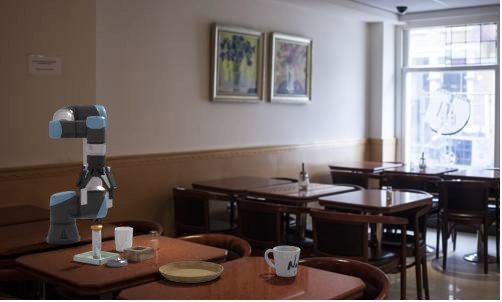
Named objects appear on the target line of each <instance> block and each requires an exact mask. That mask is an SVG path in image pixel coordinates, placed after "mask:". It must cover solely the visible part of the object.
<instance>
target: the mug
mask: <svg viewBox="0 0 502 302" xmlns="http://www.w3.org/2000/svg"><path fill="white" fill-rule="evenodd" d="M269 253H273V260H274V264H273V263H272V262H271V261H270V259H269V257H268V254H269ZM300 254H301V248H299V247H297V246H292V245H291V246H290V245H278V246H275V247H273V249H271V248H269V249H267V250H266V251H265V252H264V259H265V261H266V263H267V264H268V266H270V267H271V268H272V269H275V273H276V275H277V276H279V277H282V278H283V277H284V278H292V277H295V276H297V272H298V265H299V260H300Z"/></svg>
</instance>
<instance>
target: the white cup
mask: <svg viewBox="0 0 502 302" xmlns="http://www.w3.org/2000/svg"><path fill="white" fill-rule="evenodd" d="M133 231H134V228H133V227H130V226H120V227H119V226H118V227H115V228H114V242H115V251H116V252H123V249H127V248H130V247H133Z"/></svg>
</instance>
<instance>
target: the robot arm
mask: <svg viewBox="0 0 502 302" xmlns="http://www.w3.org/2000/svg"><path fill="white" fill-rule="evenodd" d="M48 125H49V126H48V129H49V131H48V132H49V133H48V134H49V135H48V136H49V138H50V139H56V140H57V139H58V140H59V139H82V143H83V144H82V151H83V154H82V156H83V158H82V159H83V162H82V164H83V165H81V168H80V169H81V170H80V173H79V176H78V178H77V180H76V183H75V187H77V188H79V194H78V193H77V191H75V190H69V191H61V192H57V193H53V194H52V195H50V199H49V209H50V211H49V215H50V216H49V221H50V222H49V223H50V225H49V230H48V232H47V236H46V244H49V245H71V244H72V245H73V244H76V243H79V242H80V241H81V235H80V234H79V229H78V227H77V220H80V219H81V220H82V219H83V220H85V219H86V220H87V219H102V218H105V217H106V216H107V213H108V209H109V208H112V207H113V199H114V191H117V190H118V186H117V182H116V180H115V177H114V175H113V172H112V167H111V166H105V164H106V163H107V161H106V160H107V159H106V158H107V157H106V153H107V150H106V147H107V146H106V130H108V127H109V126H108V117H107V110H106V108H105V107H104V105H96V104H91V105H90V104H83V105H82V104H70V105H66V106H62V107H60V108H58V109H57V110H56V111H55V112H54V114H53V115H52V120H50V121H49V122H48ZM103 185H104V187H103Z"/></svg>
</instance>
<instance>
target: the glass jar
mask: <svg viewBox="0 0 502 302" xmlns="http://www.w3.org/2000/svg"><path fill="white" fill-rule="evenodd" d="M90 229H91V243H92V244H91V249H92V250H91V251H92V258H93V259H99V260H100V259H101V251H102V229H103V225H102V224H92V225H90Z"/></svg>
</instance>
